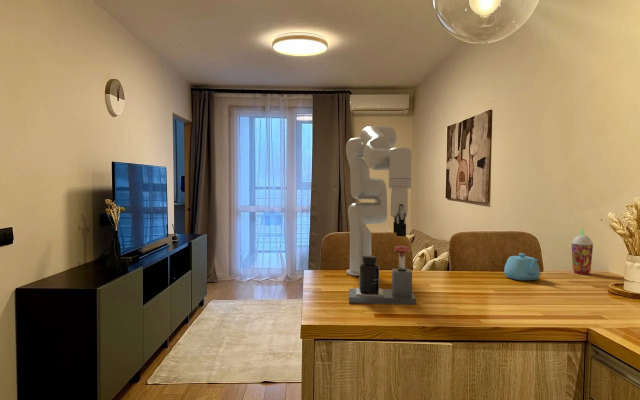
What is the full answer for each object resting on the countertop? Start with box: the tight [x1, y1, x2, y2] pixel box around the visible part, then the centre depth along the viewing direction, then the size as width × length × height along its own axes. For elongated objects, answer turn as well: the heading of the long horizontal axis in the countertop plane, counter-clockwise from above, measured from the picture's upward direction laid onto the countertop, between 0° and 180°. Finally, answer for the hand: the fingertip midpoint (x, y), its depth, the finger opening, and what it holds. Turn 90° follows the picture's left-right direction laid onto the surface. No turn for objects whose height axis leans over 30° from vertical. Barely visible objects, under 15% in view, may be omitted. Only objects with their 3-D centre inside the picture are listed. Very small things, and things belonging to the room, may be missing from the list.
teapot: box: [503, 252, 541, 281], centre depth 177 cm, size 13×11×18 cm
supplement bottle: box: [358, 255, 380, 293], centre depth 145 cm, size 7×7×12 cm
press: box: [348, 268, 417, 305], centre depth 145 cm, size 12×22×10 cm, turn 86°
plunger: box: [394, 245, 410, 271], centre depth 144 cm, size 5×5×12 cm
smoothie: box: [570, 228, 594, 276], centre depth 189 cm, size 8×8×20 cm
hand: (399, 234), depth 144 cm, fingers open, 9 cm apart
